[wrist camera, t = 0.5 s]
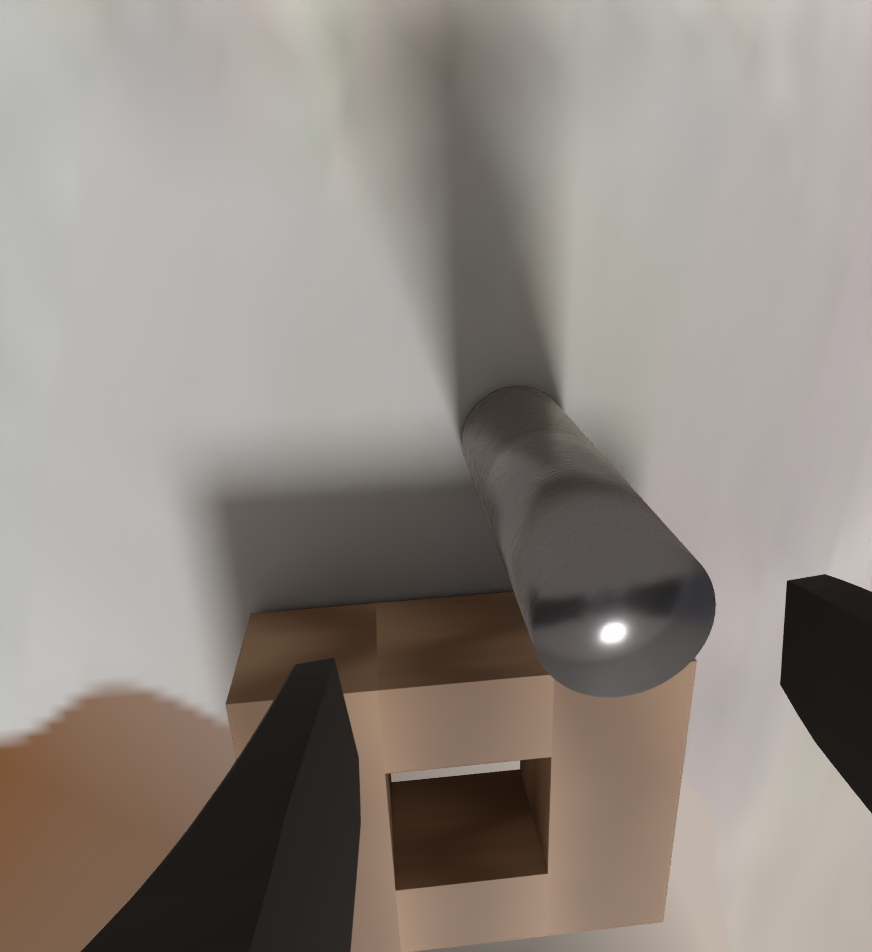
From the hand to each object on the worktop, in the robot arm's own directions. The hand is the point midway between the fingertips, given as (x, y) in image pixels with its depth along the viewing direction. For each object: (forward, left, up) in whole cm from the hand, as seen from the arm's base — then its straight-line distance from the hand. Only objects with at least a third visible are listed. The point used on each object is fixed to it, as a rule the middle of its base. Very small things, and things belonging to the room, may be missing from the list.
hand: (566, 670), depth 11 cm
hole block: (+1, +9, -9) cm, 13 cm away
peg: (-1, -1, -9) cm, 9 cm away
